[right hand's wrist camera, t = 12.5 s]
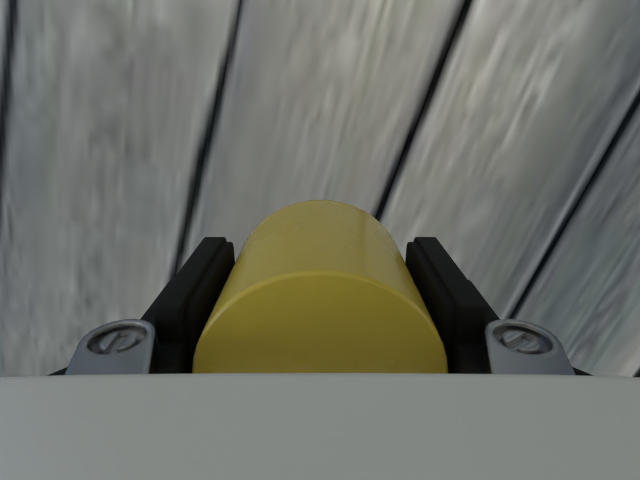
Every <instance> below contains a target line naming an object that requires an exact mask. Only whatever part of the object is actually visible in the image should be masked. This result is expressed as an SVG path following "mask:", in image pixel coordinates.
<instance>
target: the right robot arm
mask: <svg viewBox="0 0 640 480" xmlns="http://www.w3.org/2000/svg"><path fill="white" fill-rule="evenodd" d="M234 264H235V258H234V247H233V243H232V242H227V241H226V238H225V237H205V238H204V239H203V240H202V242H201V243H200V244H199V246H198V247H197V248H196V250H195V251H194V252H193V254H192V255H191V256H190V258H189V259H188V260H187V262H186V263H185V264H184V266H183V267H182V268H181V270H180V271H179V272H178V274H177V275H176V276H175V278H174V279H173V280H171V281H170V282H168V284H167V285H166V286H165V288H164V289H163V290H162V292H161V293H160V294H159V296H158V297H157V298H156V300H155V301H154V302H153V303H152V305H151V306H150V307H149V309H148V310H147V311H146V313H145V314H144V315H143V317H142V318H141V319H140V320H139V319H124V320H119V321H114V322H110V323H107V324H105V325H102V326H100V327H98V328H96V329H94V330H92V331H90V332H89V333H88V334H87V335H85V336H84V337H83V338H82V340H81V341H80V342H79V344H78V346H77V349H76V351H75V353H74V355H73V357H72V359H71V362H70V364H69V366H68V367H67V368H64V369H62V370H59V371H57V372H55V373H52V374H50V375H47V376H25V377H2V378H0V480H640V378H637V377H618V376H593V375H590V374H588V373H586V372H583V371H581V370H578V369H576V368H573V367H572V366H571V364H570V362H569V359H568V357H567V355H566V353H565V351H564V349H563V346H562V344H561V342H560V341H559V340H558V338H557V337H556V336H555V335H553V334H552V333H551V332H550V331H548V330H546V329H544V328H542V327H540V326H538V325H535V324H533V323H530V322H526V321H521V320H516V319H501V320H500V319H499V318H498V316H497V315H496V314H495V312H494V311H493V310H492V308H491V307H490V306H489V304H488V303H487V302H486V301H485V299H484V298H483V297H482V295H481V294H480V293H479V291H478V290H477V289H476V287H475V286H474V285H473V283H472V282H471V281H470V280H467V279H466V277H465V276H464V275H463V273H462V272H461V271H460V269H459V268H458V267H457V265H456V264H455V263H454V261H453V260H452V259H451V257H450V256H449V255H448V253H447V252H446V251H445V249H444V248H443V247H442V245H441V244H440V243H439V241H438V240H437V239H436V238H435V237H415V239H414V242H408V244H407V249H406V261H405V264H406V266H407V268H408V270H409V272H410V275H411V277H412V279H413V281H414V283H415V285H416V287H417V289H418V291H419V294H420V296H421V298H422V300H423V302H424V304H425V306H426V308H427V310H428V312H429V315H430V317H431V319H432V321H433V323H434V325H435V327H436V329H437V331H438V334H439V336H440V338H441V340H442V342H443V345H444V349H445V352H446V356H447V363H448V374H428V373H201V374H192V365H193V357H194V353H195V350H196V346H197V343H198V341H199V338H200V336H201V334H202V332H203V330H204V328H205V325H206V323H207V321H208V319H209V317H210V315H211V313H212V311H213V309H214V306H215V304H216V302H217V300H218V298H219V296H220V294H221V292H222V290H223V287H224V285H225V283H226V281H227V279H228V277H229V275H230V273H231V271H232V269H233V266H234Z"/></svg>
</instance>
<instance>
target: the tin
mask: <svg viewBox="0 0 640 480" xmlns="http://www.w3.org/2000/svg"><path fill="white" fill-rule="evenodd" d="M201 373H428V374H448V363H447V356H446V352H445V349H444V345H443V342H442V340H441V338H440V336H439V334H438V331H437V329H436V327H435V325H434V323H433V321H432V319H431V317H430V315H429V312H428V310H427V308H426V306H425V304H424V302H423V300H422V298H421V296H420V294H419V291H418V289H417V287H416V285H415V283H414V281H413V279H412V277H411V275H410V272H409V270H408V268H407V266H406V264H405V262H404V260H403V258H402V256H401V254H400V251H399V249H398V247H397V245H396V243H395V241H394V240H393V238H392V236H391V235H390V233H389V232H388V231H387V230H386V229H385V228H384V226H383V225H382V224H381V223H380V222H378V221H377V220H376V219H375V218H374V217H372V216H371V215H369V214H368V213H366V212H365V211H363V210H361V209H358V208H356V207H354V206H351V205H348V204H345V203H342V202H336V201H330V200H311V201H304V202H299V203H295V204H292V205H289V206H286V207H284V208H282V209H280V210H278V211H276V212H274V213H272V214H271V215H269V216H268V217H266V218H265V219H264V220H263V221H262V222H261V223H260V224H258V225H257V227H256V228H255V229H254V230H253V231H252V232H251V234H250V235H249V237H248V238H247V240H246V241H245V243H244V245H243V247H242V250H241V252H240V254H239V256H238V258H237V260H236V262H235V264H234V266H233V269H232V271H231V273H230V275H229V277H228V279H227V281H226V283H225V285H224V287H223V290H222V292H221V294H220V296H219V298H218V300H217V302H216V304H215V306H214V309H213V311H212V313H211V315H210V317H209V319H208V321H207V323H206V325H205V328H204V330H203V332H202V334H201V336H200V338H199V341H198V343H197V346H196V350H195V353H194V357H193V365H192V374H201Z"/></svg>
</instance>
